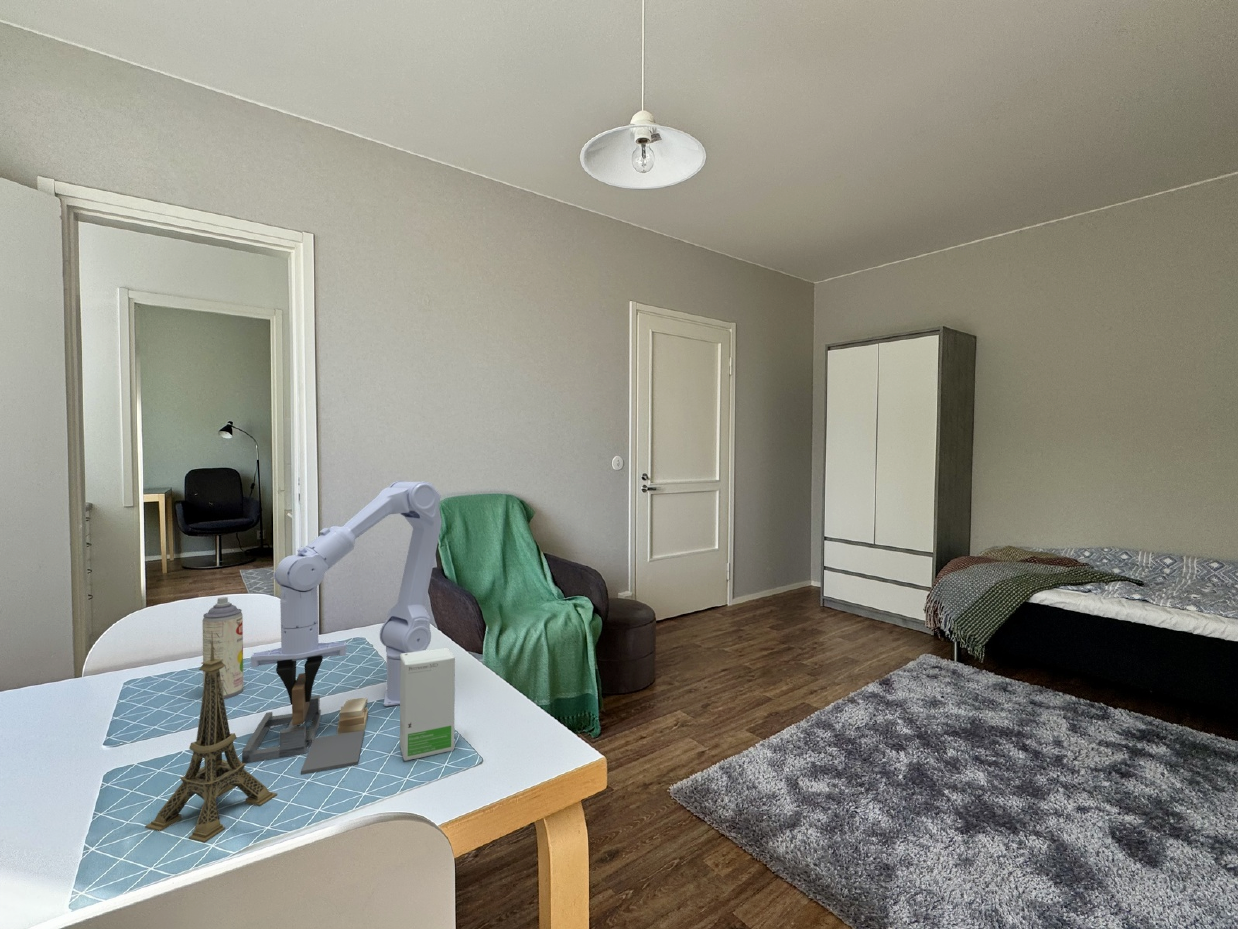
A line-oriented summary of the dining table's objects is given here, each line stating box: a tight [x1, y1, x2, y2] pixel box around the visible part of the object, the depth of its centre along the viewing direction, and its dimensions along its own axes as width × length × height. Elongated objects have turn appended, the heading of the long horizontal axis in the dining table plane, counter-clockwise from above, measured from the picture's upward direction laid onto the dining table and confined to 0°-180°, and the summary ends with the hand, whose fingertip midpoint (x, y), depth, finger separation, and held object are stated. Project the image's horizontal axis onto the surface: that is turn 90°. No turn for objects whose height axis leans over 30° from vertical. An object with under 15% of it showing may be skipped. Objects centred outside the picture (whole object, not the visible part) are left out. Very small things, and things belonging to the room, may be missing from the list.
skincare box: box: [399, 647, 456, 762], centre depth 94 cm, size 8×7×16 cm
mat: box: [300, 730, 366, 775], centre depth 93 cm, size 8×11×1 cm
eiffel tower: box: [144, 631, 278, 843], centre depth 78 cm, size 11×11×25 cm
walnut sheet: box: [291, 672, 310, 726], centre depth 99 cm, size 2×8×6 cm, turn 22°
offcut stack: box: [336, 697, 369, 735], centre depth 103 cm, size 4×7×3 cm, turn 19°
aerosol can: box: [201, 596, 244, 700], centre depth 117 cm, size 7×7×20 cm
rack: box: [241, 694, 322, 764], centre depth 98 cm, size 9×15×4 cm, turn 19°
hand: (301, 701), depth 99 cm, fingers closed on walnut sheet, 2 cm apart
